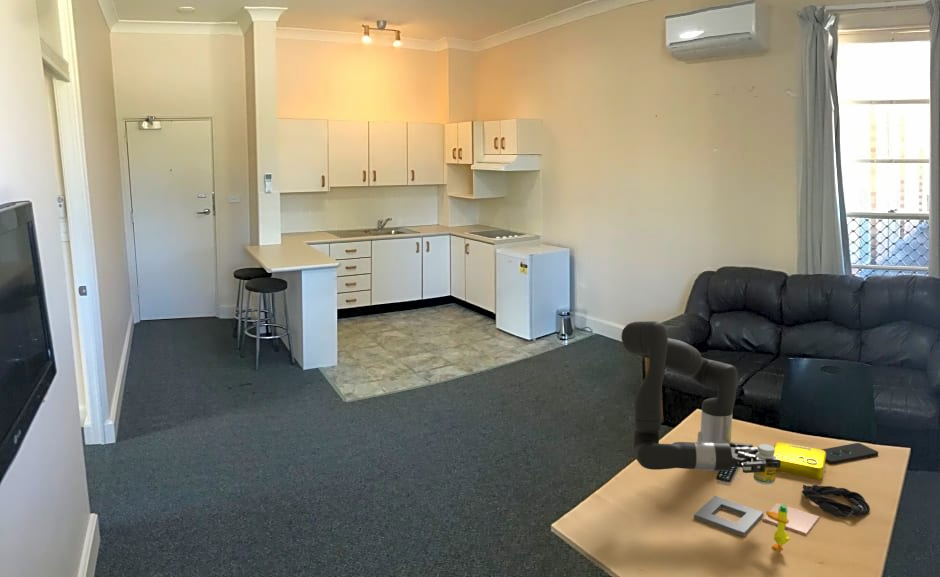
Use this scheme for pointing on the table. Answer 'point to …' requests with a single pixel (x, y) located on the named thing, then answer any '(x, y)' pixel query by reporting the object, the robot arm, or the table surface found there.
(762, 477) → the supplement bottle
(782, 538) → the toy figure
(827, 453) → the smart home device
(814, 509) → the table surface
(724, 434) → the robot arm
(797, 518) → the terracotta tile
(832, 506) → the cable
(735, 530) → the socket block
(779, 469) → the element tile
